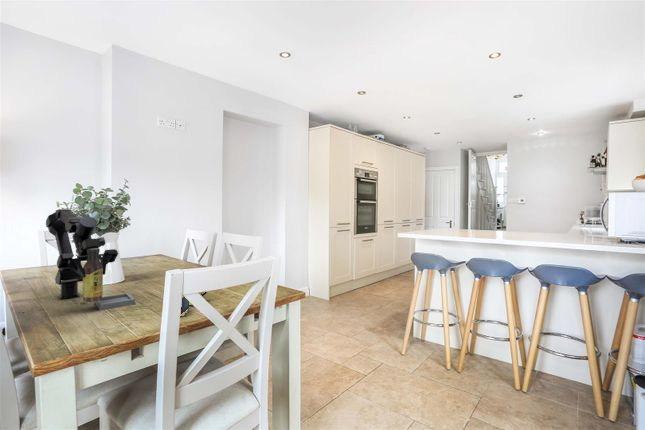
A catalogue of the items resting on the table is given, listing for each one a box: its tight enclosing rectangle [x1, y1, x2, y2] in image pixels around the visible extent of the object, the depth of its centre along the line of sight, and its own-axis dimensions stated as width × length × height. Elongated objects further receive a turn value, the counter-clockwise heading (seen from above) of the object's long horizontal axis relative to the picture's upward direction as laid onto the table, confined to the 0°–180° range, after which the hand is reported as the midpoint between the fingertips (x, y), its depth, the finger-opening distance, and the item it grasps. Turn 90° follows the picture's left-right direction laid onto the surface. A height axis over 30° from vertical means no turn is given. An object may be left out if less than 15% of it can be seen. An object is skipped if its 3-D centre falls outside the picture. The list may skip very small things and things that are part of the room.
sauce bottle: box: [82, 247, 104, 303], centre depth 121 cm, size 7×6×20 cm
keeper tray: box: [94, 292, 136, 311], centre depth 129 cm, size 12×12×2 cm
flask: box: [181, 297, 190, 314], centre depth 119 cm, size 9×3×11 cm, turn 8°
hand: (94, 275), depth 120 cm, fingers closed on sauce bottle, 6 cm apart
